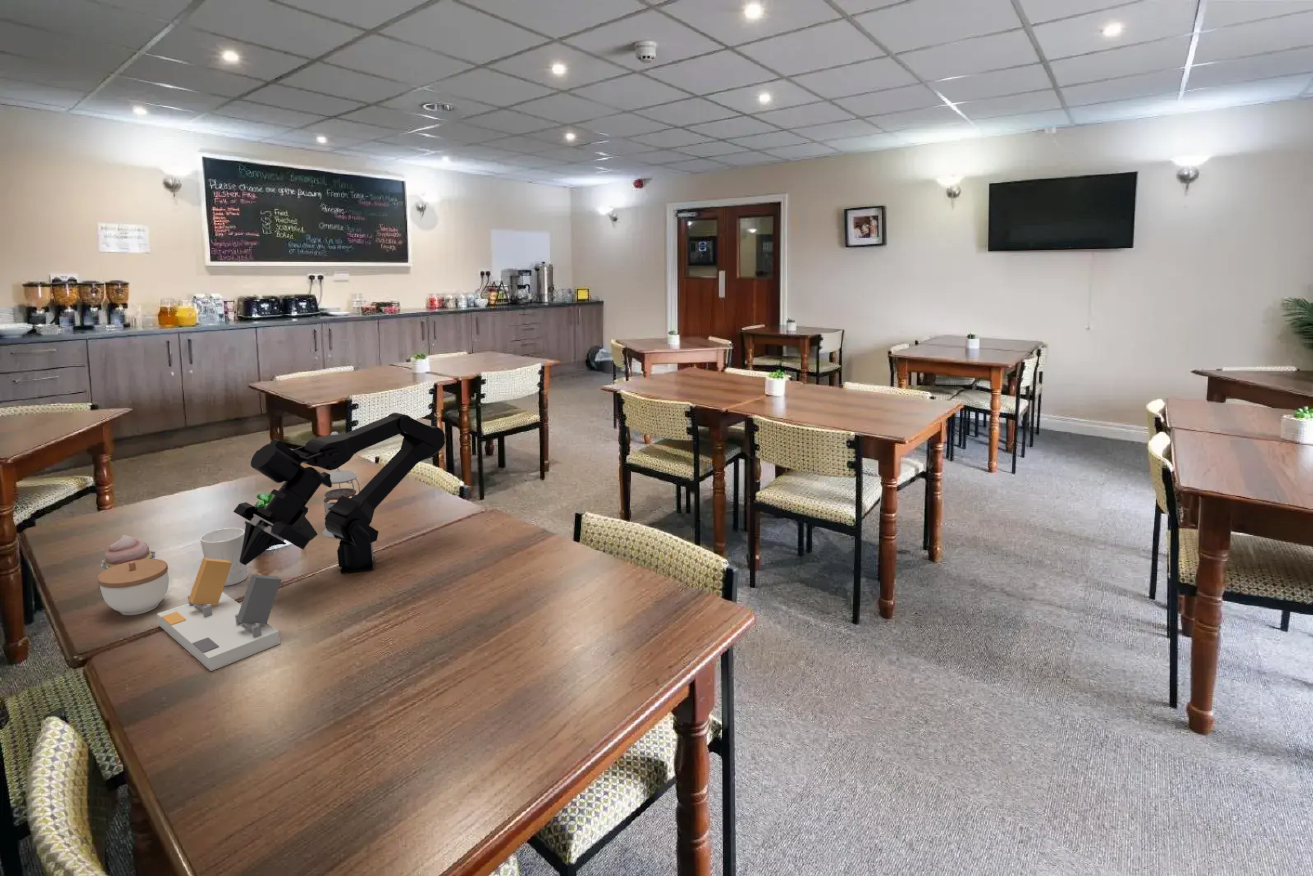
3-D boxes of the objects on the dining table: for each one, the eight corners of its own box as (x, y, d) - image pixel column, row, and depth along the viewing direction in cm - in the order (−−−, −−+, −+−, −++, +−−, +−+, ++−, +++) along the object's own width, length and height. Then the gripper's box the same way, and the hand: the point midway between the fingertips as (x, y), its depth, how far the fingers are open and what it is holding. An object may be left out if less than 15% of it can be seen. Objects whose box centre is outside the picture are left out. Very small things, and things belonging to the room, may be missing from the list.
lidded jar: (133, 593, 141) (125, 550, 138) (186, 595, 140) (179, 551, 138) (90, 620, 130) (80, 573, 128) (147, 622, 130) (138, 575, 128)
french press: (313, 535, 170) (302, 435, 164) (342, 518, 181) (332, 424, 175) (350, 539, 169) (340, 438, 163) (377, 521, 180) (368, 426, 174)
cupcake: (133, 568, 152) (125, 524, 149) (170, 572, 150) (163, 528, 147) (92, 587, 143) (82, 541, 140) (130, 592, 141) (122, 545, 139)
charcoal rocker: (255, 624, 127) (272, 574, 128) (268, 633, 124) (285, 582, 124) (230, 623, 123) (247, 571, 124) (243, 633, 120) (260, 580, 121)
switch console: (224, 603, 137) (221, 583, 136) (280, 643, 124) (277, 621, 122) (159, 625, 129) (155, 604, 128) (210, 671, 115) (207, 648, 114)
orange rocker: (207, 605, 133) (224, 557, 134) (219, 614, 130) (236, 565, 131) (182, 604, 129) (199, 555, 130) (193, 613, 126) (211, 563, 127)
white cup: (231, 589, 143) (224, 543, 140) (197, 585, 144) (190, 540, 142) (259, 573, 150) (253, 529, 148) (227, 569, 152) (221, 526, 149)
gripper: (349, 525, 141) (300, 595, 135) (300, 502, 151) (252, 566, 145) (307, 498, 132) (252, 571, 127) (259, 476, 143) (206, 543, 137)
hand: (242, 563), depth 134 cm, fingers closed
